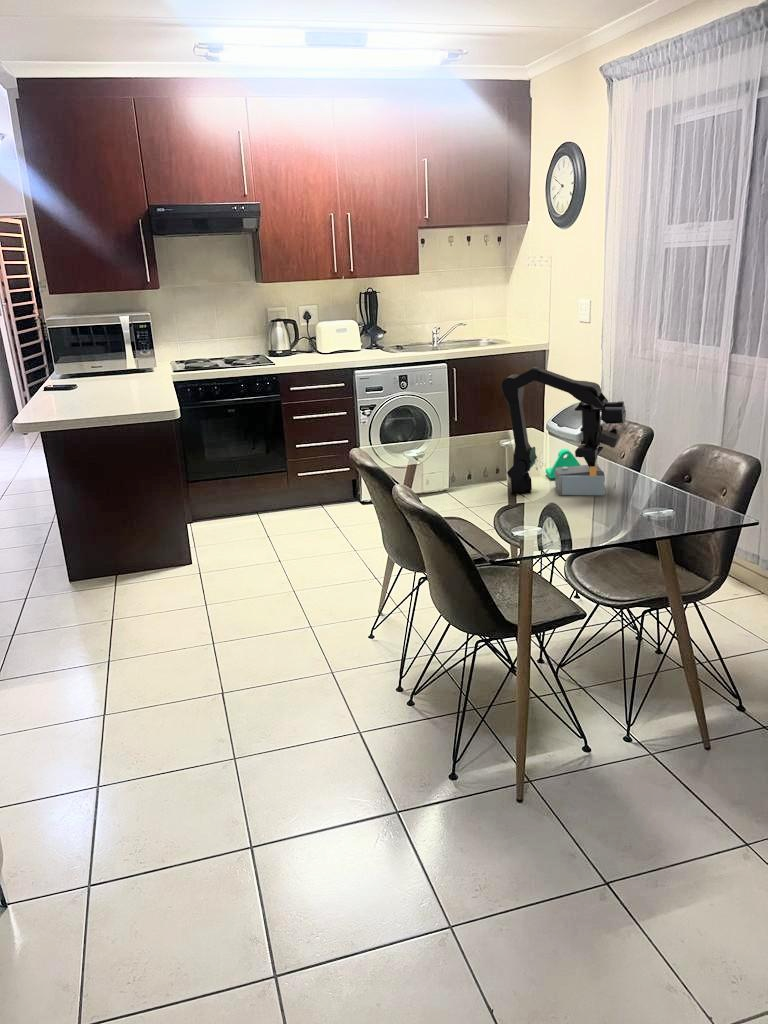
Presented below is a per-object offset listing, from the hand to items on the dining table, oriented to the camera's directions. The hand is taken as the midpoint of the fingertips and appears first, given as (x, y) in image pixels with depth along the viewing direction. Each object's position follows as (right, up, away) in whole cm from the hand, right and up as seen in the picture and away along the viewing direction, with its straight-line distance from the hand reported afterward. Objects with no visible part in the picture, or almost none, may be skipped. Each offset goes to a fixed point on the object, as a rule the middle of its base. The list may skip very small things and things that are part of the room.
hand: (592, 470), depth 242 cm
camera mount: (-3, -1, +25) cm, 25 cm away
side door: (-3, -8, +3) cm, 9 cm away
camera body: (-2, -6, +9) cm, 11 cm away
